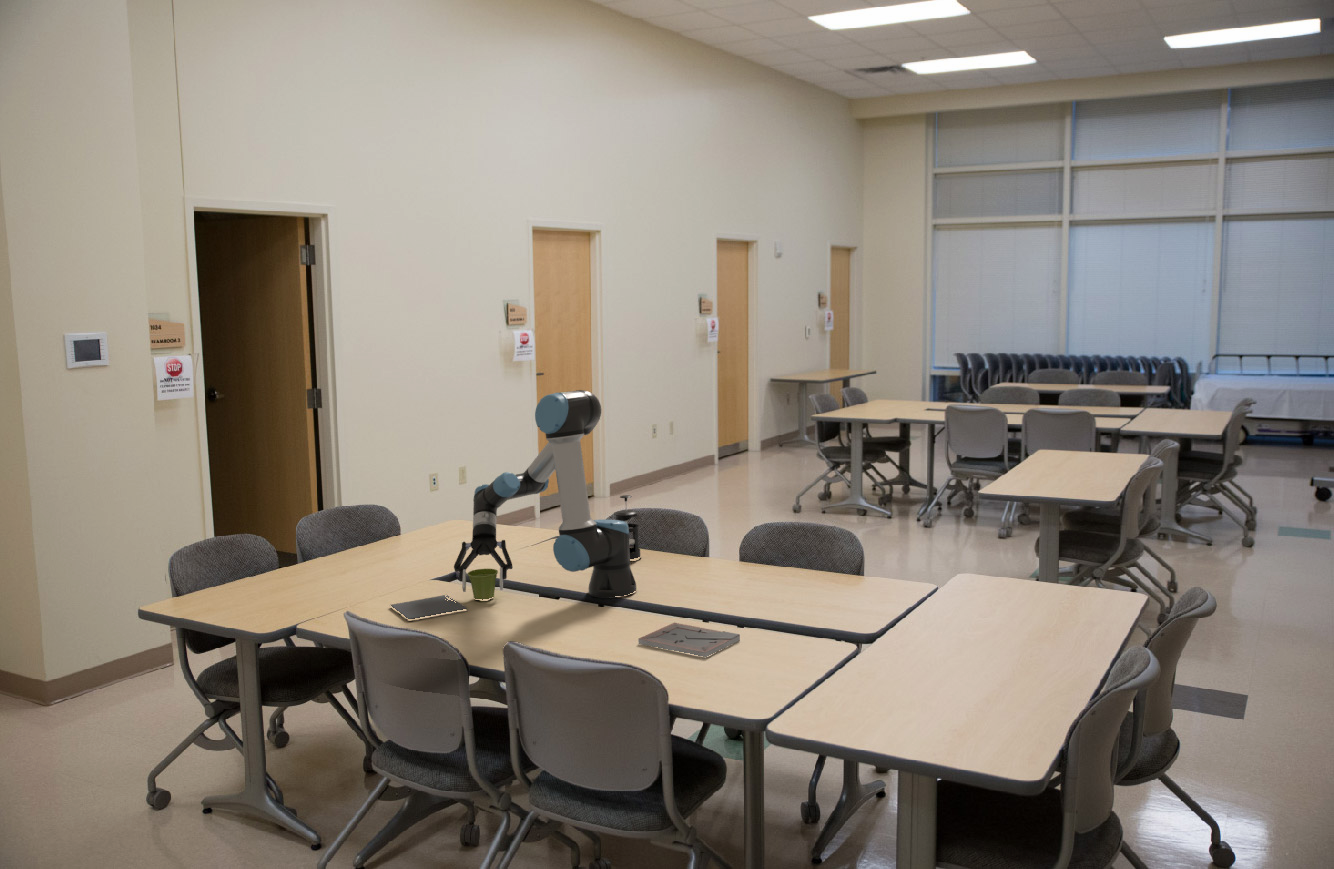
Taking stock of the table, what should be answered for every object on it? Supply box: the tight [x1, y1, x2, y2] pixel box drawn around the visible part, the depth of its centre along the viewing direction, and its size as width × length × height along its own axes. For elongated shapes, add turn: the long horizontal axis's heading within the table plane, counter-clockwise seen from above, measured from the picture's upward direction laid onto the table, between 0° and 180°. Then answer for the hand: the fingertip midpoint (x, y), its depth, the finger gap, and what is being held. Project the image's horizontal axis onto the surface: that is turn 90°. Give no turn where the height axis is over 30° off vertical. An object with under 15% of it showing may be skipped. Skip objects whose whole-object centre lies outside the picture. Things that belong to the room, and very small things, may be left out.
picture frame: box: [638, 622, 741, 657], centre depth 280 cm, size 16×2×22 cm
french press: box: [613, 494, 641, 559], centre depth 372 cm, size 12×9×23 cm
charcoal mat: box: [390, 594, 468, 619], centre depth 318 cm, size 18×18×1 cm
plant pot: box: [466, 568, 499, 600], centre depth 327 cm, size 9×9×9 cm
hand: (482, 588), depth 324 cm, fingers open, 11 cm apart
